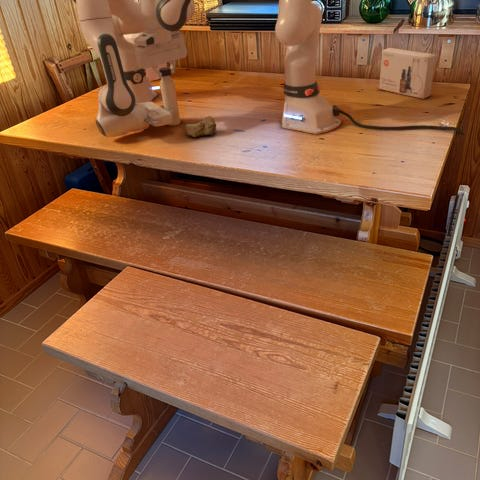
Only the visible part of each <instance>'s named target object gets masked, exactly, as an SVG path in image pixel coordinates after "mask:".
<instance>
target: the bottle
mask: <svg viewBox="0 0 480 480" xmlns="http://www.w3.org/2000/svg"><path fill="white" fill-rule="evenodd" d="M159 87H160V93H161V99H162V103H163V104H162V105H164V109H165V110H167V111H171V110H172V109H174V108H176V109H178V114H174V115H173V116H172V117H173V122H172V123H171V124H167V125H166V126H170V127H173V126H179V125H180V124H181V122H182V121H181V117H180V116H181V115H180V110H179V104H178V97H177V91H176V85H175V81H174V79H173V78H172V77H171V75H169V76H162V78H161V79H160V81H159Z"/></svg>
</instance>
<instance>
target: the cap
mask: <svg viewBox="0 0 480 480" xmlns="http://www.w3.org/2000/svg"><path fill="white" fill-rule="evenodd" d="M159 72H161V73H162V76H169V75H170V76H171V75H172V74H171V70H170V66H169V67H168V66H167V67H164V68H160V69H159Z"/></svg>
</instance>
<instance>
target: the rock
mask: <svg viewBox="0 0 480 480" xmlns="http://www.w3.org/2000/svg"><path fill="white" fill-rule="evenodd" d="M217 126H218V125H217V123H216V122H215V118H214V117H213V116H212V115H209V116H205V117H204V119H201V120H200V121H199V122H198V123H187V124H185V132H186V134H187V136H189V137H192V138H197V137H203V136H212V135H214V134H215V131H216V130H217Z"/></svg>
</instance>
